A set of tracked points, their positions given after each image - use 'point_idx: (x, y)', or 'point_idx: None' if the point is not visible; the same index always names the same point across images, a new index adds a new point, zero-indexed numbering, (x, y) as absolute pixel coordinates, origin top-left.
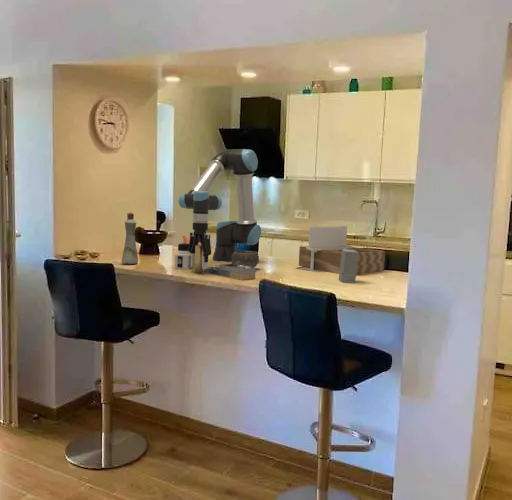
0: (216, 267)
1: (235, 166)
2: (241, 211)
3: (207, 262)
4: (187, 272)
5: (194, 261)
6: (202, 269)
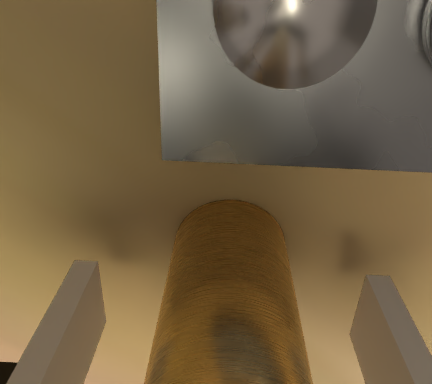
0: (368, 14)
1: None
2: None
3: (430, 357)
4: (113, 302)
5: (75, 347)
6: (291, 275)
